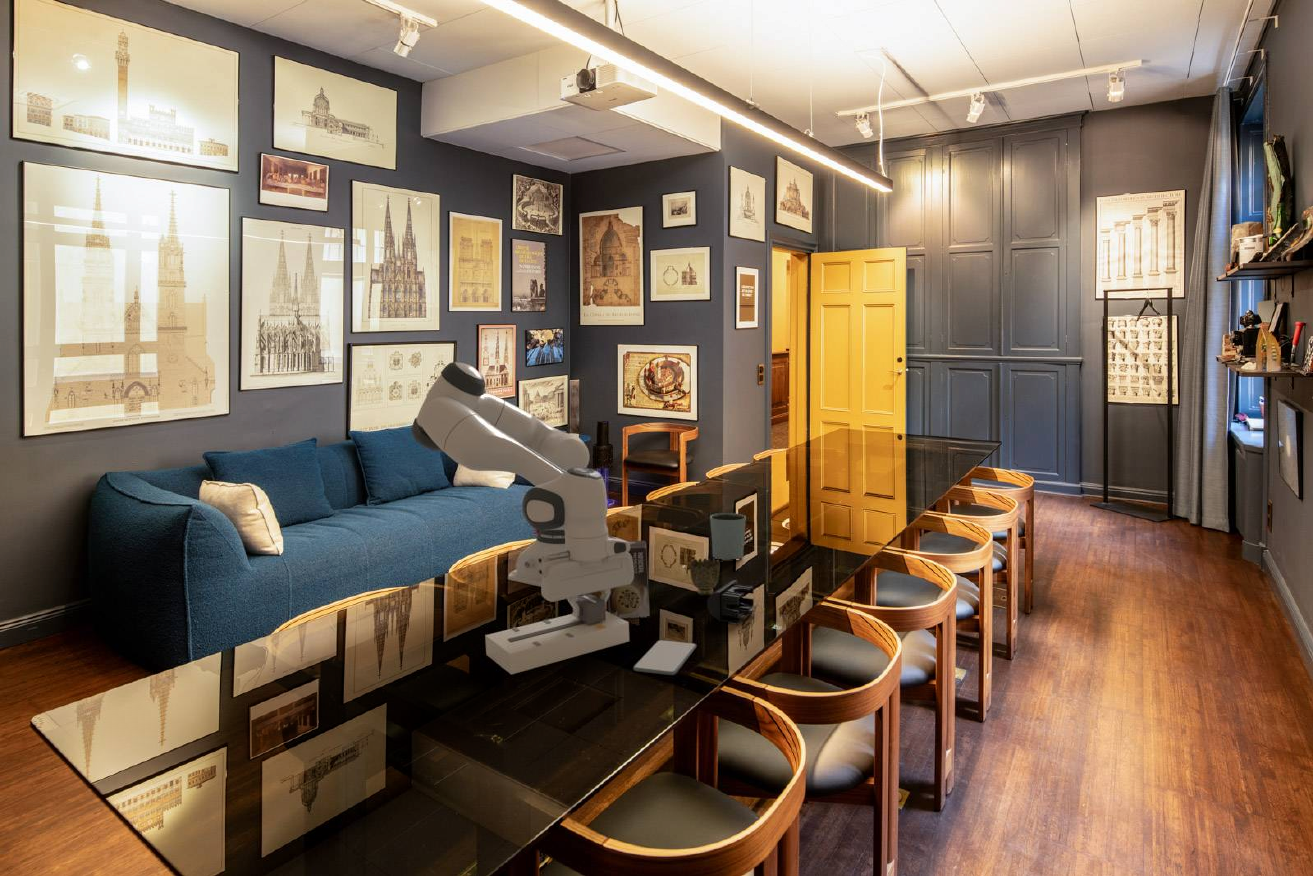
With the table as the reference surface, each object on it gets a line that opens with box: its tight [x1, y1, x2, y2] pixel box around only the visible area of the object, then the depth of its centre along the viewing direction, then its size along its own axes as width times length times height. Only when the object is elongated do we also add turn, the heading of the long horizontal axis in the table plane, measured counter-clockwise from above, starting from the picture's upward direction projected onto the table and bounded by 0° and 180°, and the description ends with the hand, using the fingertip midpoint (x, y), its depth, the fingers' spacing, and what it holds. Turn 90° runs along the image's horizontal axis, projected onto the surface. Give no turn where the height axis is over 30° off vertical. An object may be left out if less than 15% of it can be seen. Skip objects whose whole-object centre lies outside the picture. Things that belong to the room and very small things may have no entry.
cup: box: [689, 558, 721, 596], centre depth 184 cm, size 8×7×8 cm
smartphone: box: [632, 640, 697, 676], centre depth 147 cm, size 8×1×15 cm
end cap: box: [707, 579, 755, 624], centre depth 169 cm, size 10×7×7 cm
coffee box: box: [608, 540, 650, 619], centre depth 171 cm, size 9×6×16 cm
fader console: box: [484, 610, 630, 675], centre depth 153 cm, size 26×12×4 cm, turn 124°
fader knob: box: [576, 593, 607, 624], centre depth 157 cm, size 4×6×4 cm, turn 34°
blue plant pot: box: [709, 512, 747, 560], centre depth 216 cm, size 10×10×12 cm
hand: (589, 612), depth 157 cm, fingers closed on fader knob, 4 cm apart
